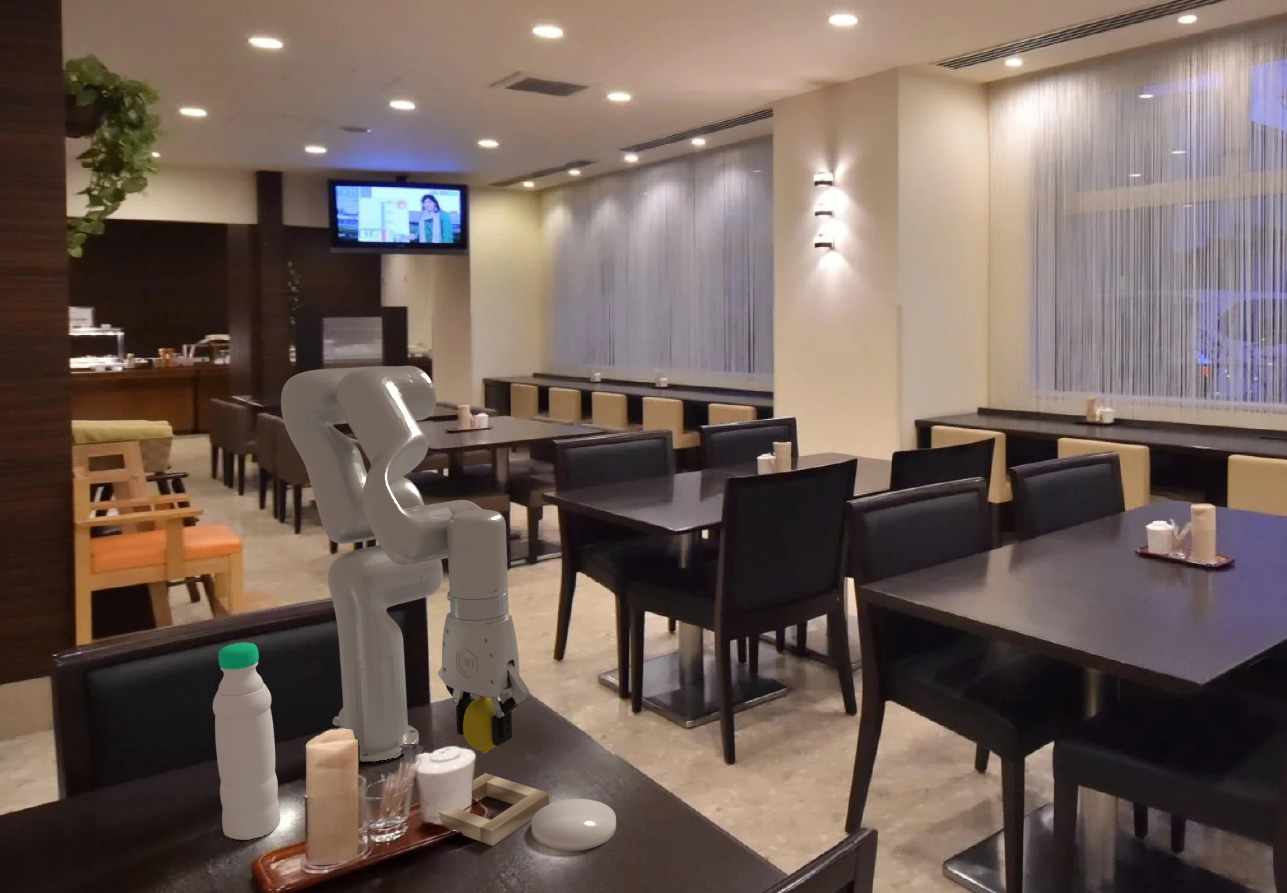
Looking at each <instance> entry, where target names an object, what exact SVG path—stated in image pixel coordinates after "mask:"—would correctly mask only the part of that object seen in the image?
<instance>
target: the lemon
mask: <svg viewBox="0 0 1287 893" xmlns="http://www.w3.org/2000/svg"><path fill="white" fill-rule="evenodd" d="M474 699H475V700H474V701H472V702H471V703H470V704H469V706H468V707H467V709H466V711H465V714H464V720H463V732H464V734H463V735H464V738H465V740H466V742H467V743H468V745H469V746H470V747H471V748H473V749H474V750H477V751H480V752H481V753H482V754H487V753H489V752H490V750H492V749H494V748H496V747H497V746H496V745H494V744H493V740H492V717H493V716H495V715H496V714H495V711H494V708H493V704H492V701H491V698H487V697H483V696H479V697H478V698H474Z"/></svg>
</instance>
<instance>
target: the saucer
mask: <svg viewBox="0 0 1287 893" xmlns="http://www.w3.org/2000/svg"><path fill="white" fill-rule="evenodd" d="M530 822H531V823H530V824H531V836H532V838H533V839H534V841H535V842H537V843H538V844H539V845H540V846H542V847H545V848H547V849H551V850H553V849H555V850H554V851H559V852H579V851H586V850H589V849H590V850H591V849H593V848H597V847H598V846H601V845H603V844H605V843H607V842H608V841H609V840H610V839H612V837H613V836H614V835H615V833H616V830H617V816H616V813H615V811H614V810H613V809H612V808H611V807H610V806H609V805H607V804H605V803H604V802H601V801H596V800H593V799H586V798H571V799H563V800H559V801H558V800H557V801H555V802H552V803H549V805H547V806H545V807H543V808H541V809H540V810H539V811H537V812H536V813H535V815H534V816H533V818H532V819H531V820H530Z"/></svg>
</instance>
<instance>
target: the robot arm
mask: <svg viewBox="0 0 1287 893" xmlns="http://www.w3.org/2000/svg"><path fill="white" fill-rule="evenodd" d="M436 405H437V391H436V388H435V385H434V383H433V381H432V379H431V378H430V376H429V375H428V374H427V372H425V371H424V370H422V368H419V367H417V366H415V365H414V366H413V365H402V366H401V365H400V366H393V365H392V366H391V365H390V366H387V365H385V366H383V365H381V366H380V365H379V366H378V365H377V366H361V367H360V366H359V367H356V366H355V367H337V368H334V367H333V368H321V369H314V370H313V369H312V370H307V371H303V372H300V373H297V374H294V375H293V376H292V377H289V379H288V380H287V381H286V382H285V383H284V385H283V387H282V391H281V396H280V408H281V414H282V415H281V416H282V420H283V423H284V426H285V430H286V432H287V434H288V436H289V438H290V440H291V442H292V444H293V446H294V447H295V450H297V452H298V453H299V456H300V457H301V460H302V462H303V463H304V465H305V469H306V472H307V474H308V475H307V476H308V479H309V482H310V483H309V484H310V486H311V490H312V493H313V497H314V500H315V504H316V507H317V512H318V515H319V519H320V521H321V524H322V526H323V529H324V532H325V533H326V536H327V537H328V539H329V540H330V541H332V542H334V543H337V544H343V545H344V544H345V545H346V544H355V543H360V542H361V543H362V542H366V541H372V540H376V541H377V543H378V545H375V546H374V545H373V546H369V547H364V548H358V549H355V550H351V551H349V552H346V553H343V554H342V555H340V556H339V557H337V558H336V559H335V560H334V561H333V562H332V564H331V565H330V566H329V570H328V574H327V579H328V580H327V582H328V589H329V593H330V596H331V600H332V604H333V608H334V612H335V618H336V623H337V624H336V625H337V633H338V634H337V635H338V644H339V645H338V647H339V662H340V672H341V673H340V675H341V676H340V678H341V688H342V690H341V691H342V692H341V693H342V706H343V707H342V709H339V710H340V711H339V713H338V716H334V717H333V719H332V724H333V725H334V726H337V727H341V729H342V728H345V729H351V730H353V732H354V735H355V736H356V737H357V738H358V740H359V745H360V760H361V762H362V761H363V762H364V761H366V762H367V761H379V760H386V761H388V760H387V759H390V760H392V759H391V758H394V759H396V758H399V756H400V755H401V750H402V746H403V745H404V744H417V745H418V744H419V741H420V738H419V732H418V730H417V729H416V728H415V727H413V726H412V725H409V723H408V722H409V720H408V706H407V704H408V702H407V687H406V686H407V685H406V682H407V681H406V668H405V652H404V649H405V647H404V638H403V637H404V636H403V633H402V629H401V628H400V626H399V625H398V623H397V622H396V621H395V620H394V619H393V618H392V617H391V616H390V615H389V614H388V612H387V609H388V608H390V607H393V606H396V605H399V604H404V603H410V602H412V601H416V600H417V601H418V600H420V599H423V598H427V597H429V596H430V597H431V596H432V595H434V594H435V593H436V592H438V590H439V589H440V587H441V585H442V583H443V577H444V571H443V562H442V560H443V559H448V560H447V562H448V584H449V586H448V587H449V588H448V589H449V591H448V592H447V594H446V599H447V600H448V601H449V608H450V610H449V612H447V614H446V616H445V621H444V627H443V633H442V634H443V635H442V646H441V648H442V649H441V651H442V652H441V667H440V668H439V670H438V671H437V676H438V677H439V678H440V680H441V681H442V682H443V684H444V685H445V687H446V690H447V691H448V693H449V694H450V696H451V703H452V704H453V705H454V706H455V712H456V714H455V716H456V717H455V718H456V733H457V735H459V736H463V735H464V732H463V720H464V714H465V711H466V709H467V707H468V706H469V704H470V703H471V702H472V701H474V700H475V699H476V698H473V695H475V696H479V697H480V696H483V697H487V698H491V701H492V704H493V708H494V711H495V714H496V715H495V716H493V717H492V740H493V744H494V745H496V747H498V746H500V745H502V744H504V743H505V742H508V741H509V740H510V739H512V738H513V723H512V722H513V720H512V712H513V711H515V710H516V708H517V707H518V706H519V704H521V703H522V701H524V700H525V699H526V698H527V697H529V695H530V694H531V693H530V690H529V688H528V687H527V685H526V683H525V682H524V680H523V678H522V677H521V676H520V659H519V649H518V642H517V636H516V630H515V625H514V624H515V623H514V621H513V616H512V615H510V611H509V586H508V585H509V583H508V580H509V579H508V577H509V576H508V554H507V552H508V551H507V550H508V549H507V528H506V527H507V526H506V525H507V524H506V520H505V517H504V516H503V515H502V514H501V512H499V511H497V510H496V511H495V510H492V509H491V510H490V509H483V508H481V506H479V505H477V504H476V503H475V502H472V501H471V500H466V499H457V500H451V501H450V500H449V501H444V502H436V503H432V504H431V503H430V504H426V505H425V502H424V500H423V497H422V494H421V493H420V490H419V488H417V486H416V485H415V484H414V483H413V482H412V481H411V480H410V479H408V478H407V477H404V476H407V474H410V473H411V472H412V471H414V469H415V468H417V467H418V466H419V465H420V464H421V463H422V462H423V460H424V459H425V458H426V456H427V453H428V450H429V441H428V439H427V436H426V435H425V433H424V431H423V430H422V428H421V427H420V425H419V423H418V422H417V421H423V420H426V419H428V418H429V417H430V416H431V415H432V414H433V413H434V411H435V409H436ZM337 423H347V424H348V426H349V428H350V430H351V431H352V433H353V434H354V437H355V439H356V440H357V442H358V443H359V445H360V447H361V449H362V451H363V453H364V454H365V456H366V458H367V460H368V461H369V463H370V468H369V469H368V472H367V469H366V467H365V464H364V460H363V457H362V454H361V452H360V450H359V448H358V447H357V446H356V444H354V443H353V441H352V440H351V439H350V438H349V437H348V436H346V434H344V433H343V432H341V431H340V430H339V429H337V428H336V427H335V426H334V424H337ZM512 692H513V693H512ZM501 696H502V697H503V701H504V702H502V699H501ZM400 757H401V756H400Z"/></svg>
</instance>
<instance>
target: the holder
mask: <svg viewBox="0 0 1287 893" xmlns="http://www.w3.org/2000/svg"><path fill="white" fill-rule="evenodd" d="M472 781H473V784H472V797H473V799H478V800H480V801H481V800H482V799H484V798H486V797H489V798H493V799H495V800H499V801H501V802H504V803H508V804H512V806H510V807H509V808H507V809H505V810H504V811H503V812H501V813H499V814H498V815H496V816H494V817H492V818H491V819H489V818H486V817H483V816H480V815H477V814H475V813H472V812H469V811H466V810H461V809H458V808H456V809H453V810H449V811H443V812H441V811H440V812H438V813H439V815H440V816H439V817H440V820H441V822H442V823H443V824H444V825H445V826H447V827H449V828H451V829H455V830H460V831H461V833H462V834H463V835H462V836H465V837H467V838H469V839H472V840H476V841H478V842H481V843H484V844H486V845H489V846H492V847H493V846H495V845H497V844H498V843H499V842H501V841H502V840H504V839H505V838H507V837H508V836H509V835H511V834H512V833H514V832H515V831H517V830H518V829H520V828H521V827H523V826H524V825H525V824H527V823H528V822H531V821H532V818H533V816H534V815H535V813H536V812H537V811H539V810H540V809H541V808H543V807H545V806H547V805H549V804H550V793H549V792H546V791H543V790H541V789H537V788H534V787H530V786H528V785H525V784H522V783H518V782H515V781H512V780H509V779H505V778H502V777H499V776H496V775H493V774H490V773H486V772H484V773H483V774H482V775H480V776H478V777H476V778H475V779H473V780H472Z"/></svg>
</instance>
